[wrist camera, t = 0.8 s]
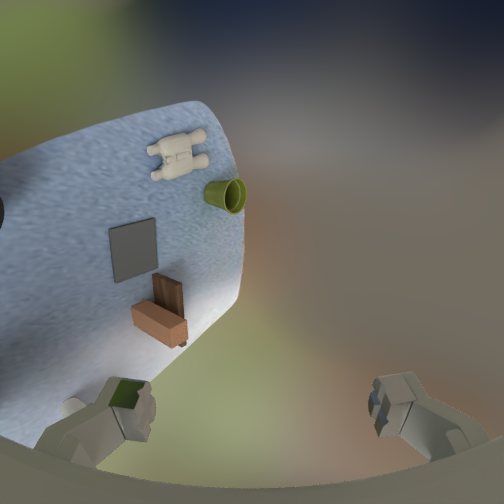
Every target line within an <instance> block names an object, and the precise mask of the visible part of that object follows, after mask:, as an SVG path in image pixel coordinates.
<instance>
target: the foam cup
mask: <svg viewBox="0 0 504 504" xmlns="http://www.w3.org/2000/svg"><path fill="white" fill-rule="evenodd" d="M86 406H87V405H85V404H84V403H83V402H82V401H80V400H79V399H78V398H73V397H72V398H69V399H67V400H66V401H64V402H63V404H62V406H61V413H62V415H63V417H64V418H66V417H68V416H69V415H71V414H73V413H75V412H77V411H78V410H80V409H82V408H84V407H86Z"/></svg>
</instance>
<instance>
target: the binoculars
mask: <svg viewBox="0 0 504 504" xmlns="http://www.w3.org/2000/svg"><path fill="white" fill-rule="evenodd" d="M206 138H207V137H206V133H205V131H204V130H203V129H201V128H198V129H196V130H194V131H193V132H191V133H189V134H185V133H180V134H176V135H172V136H168V137H164V138H162V139H160V140H159V141H158V142H157V143H156V144H153V145H150V146H148V147H147V153H148V155H150V156H152V155H156V154H157V155H158V156H161V158H162V165H161V166H160V167H159V169H158V170H156V171H153V172H152V173H151V178H152V180H153V181H158V180H161V179H162V178H163V179H165V180H172V179H175V178H177V177H180V176H183V175H186V174H188V173H191V172H192V170H193V169H205V168H207V167H208V166H209V158H208V156H207V155H206V154H204V153H201V154H199V155H197V156H194V157H193V156H192V147H191V146H192V145H196V144H202V143H204V142H205V141H206ZM166 157H167V158H166Z"/></svg>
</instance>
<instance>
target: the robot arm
mask: <svg viewBox="0 0 504 504" xmlns="http://www.w3.org/2000/svg"><path fill="white" fill-rule="evenodd" d="M372 386H373V388H374V390H373V391H372V392H371V393H370V396H369V400H368V409H369V413H370V416H371V417H372V418H373V419H375V420H376V421H375V424H374V427H375V429H376V432H377V435H378V437H379V438H383V437H389V436H394V435H400V437H402V438H403V439H404V440H405V441H407V442H408V443H409V444H410V445H412V446H413V447H414V448H416V449H417V450H418V451H419V452H420V453H422V454H423V455H424V456H425V457H427V458H428V459H429V460H430V461H429V463H426V464H423V465H419V466H416V467H412V468H408V469H405V470H400V471H396V472H392V473H388V474H383V475H378V476H374V477H368V478H363V479H358V480H351V481H344V482H338V483H330V484H321V485H312V486H301V487H285V488H259V489H258V488H253V489H252V488H251V489H250V488H249V489H248V488H247V489H246V488H215V487H201V486H190V485H180V484H172V483H164V482H157V481H151V480H145V479H139V478H134V477H129V476H124V475H119V474H114V473H110V472H106V471H101V470H98V469H97V468H96V467H95V466H96V465H97V464H99V463H100V462H101V461H102V460H103V459H105V458H106V457H107V456H108V455H109V454H111V453H112V452H113V451H114V450H115V449H116V448H118V447H119V446H120V445H121V444H122V443H123V442H125V440H131V441H139V442H147V440H148V437H149V434H150V431H151V429H150V426H149V424H150V423H151V422H153V421H154V418H155V414H156V404H155V399H154V397H153V396H152V395H151V394H150V392H151V390H152V389H151V385H150V382H148V381H143V380H135V379H128V378H119V377H110V378H109V379H108V381H107V382H106V384H105V386H104V388H103V389H102V391H101V393H100V395H99V397H98V398H97V400H96V402H95V404H93V403H91V404H89V405H87V406H86V407H84V408H82V409H80V410H78V411H77V412H75V413H73V414H71V415H69V416H68V417H66V418H64V419H62V420H60V421H59V422H57V423H55V424H53V425H51V426H49V427H47V428H46V429H45V431H44V432H43V434H42V436H41V437H40V439H39V441H38V442H37V444H36V446H35V447H34V449H31V448H29V447H26V446H24V445H21V444H19V443H16V442H14V441H12V440H9V439H7V438H5V437H3V436H1V435H0V504H504V435H502V436H499V437H497V438H495V439H493V440H490V438H489V437H488V435H487V434H486V432H485V431H484V429H483V428H482V426H481V424H480V423H479V421H478V420H476V419H474V418H472V417H470V416H468V415H466V414H464V413H462V412H460V411H458V410H456V409H454V408H453V407H451V406H449V405H447V404H445V403H443V402H441V401H439V400H437V399H435V398H433V397H431V398H429V396H428V395H427V393H426V391H425V390H424V388H423V386H422V385H421V383H420V382H419V380H418V378H417V377H416V375H415V374H414V372H412V371H410V372H404V373H400V374H394V375H387V376H380V377H375V379H374V381H373V384H372Z"/></svg>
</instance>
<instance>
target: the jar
mask: <svg viewBox="0 0 504 504" xmlns="http://www.w3.org/2000/svg"><path fill="white" fill-rule="evenodd" d="M3 219H4V205H3V202H2V199H1V197H0V228H1V226H2V223H3Z"/></svg>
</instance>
